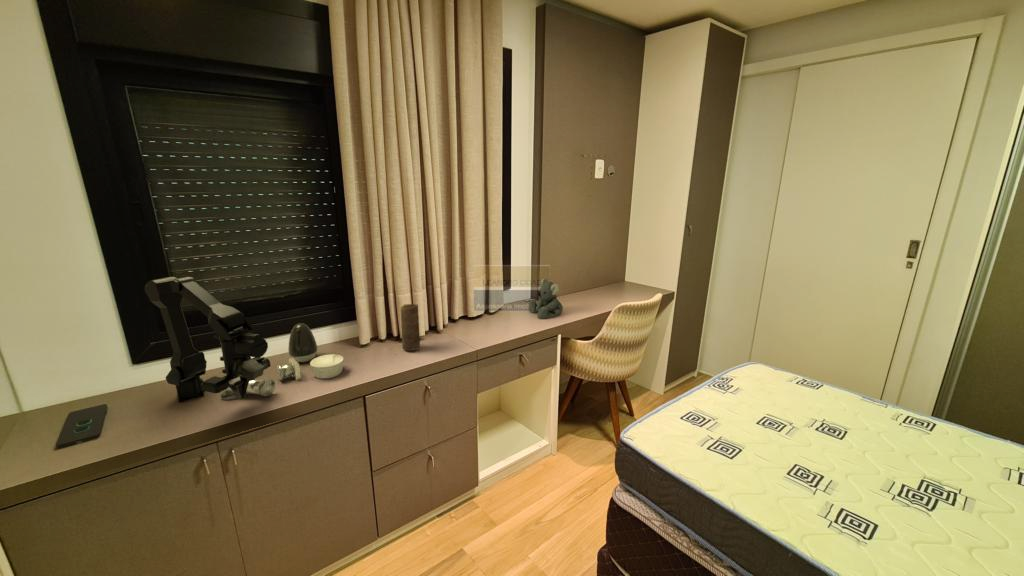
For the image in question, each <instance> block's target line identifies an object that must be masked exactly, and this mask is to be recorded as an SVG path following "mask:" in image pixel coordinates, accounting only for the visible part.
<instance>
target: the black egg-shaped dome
mask: <svg viewBox="0 0 1024 576" xmlns="http://www.w3.org/2000/svg"><path fill="white" fill-rule="evenodd" d="M287 350H288V351H287V352H288V355H289V356H290V358H294V359H295V360H296V361H297V362H298V363H306V362H311V361H312V360H313V359H315V358H316V355H317V352H318V344H317V341H316V338H315V336H314V333H313V332H312V330H311V329H310V327H309V326H308V325H307V324H305V323H297V324H295V325H294V326H293V328H292V329H291V332H290V335H289V339H288V349H287Z"/></svg>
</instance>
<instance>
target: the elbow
mask: <svg viewBox="0 0 1024 576" xmlns="http://www.w3.org/2000/svg"><path fill="white" fill-rule="evenodd" d="M275 389H276V382H275V380H274V379H271V378H265V379H254V380H252V381H249V384H248V387H247V391H246V393H248V394H254V395H255V394H257V395H260V396H263V397H269V396H271V395H272V394H273V393H274V391H275ZM224 391H225V392H226V395H236V394H235V393H234V392H233V391H232V390H231V389H230V388H229V387H228V388H227V389H225V390H224Z"/></svg>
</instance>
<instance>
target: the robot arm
mask: <svg viewBox="0 0 1024 576" xmlns="http://www.w3.org/2000/svg"><path fill="white" fill-rule="evenodd" d="M144 293H145V294H146V295H147V297H148V299H149V301H150V302H151V303H152V304H153V305H154V306H156V307H157V308H159V310H160V314H161V316H162V320H163V323H164V326H165V330H166V332H167V334H168V335H167V336H168V338H169V342H170V344H171V349H172V351H173V353H172V356H171V358H170V361H169V363H170V364H169V365H170V371H169V372H168V373H167V375H166V376H165V380H166V382H167V384H168V385H173V386H174V385H175V389H176V390H175V391H176V393H177V394H176V397H177V401H178V403H183V402H187V401H191V400H194V399H198V398H201V397H204V396H205V392H206V393H211V394H219V393H223V392H224V391H225V389H227V388H228V387H229V388H230V389H231V390H232V391H233V392H234V393H235V394H236V395H237V396H238V397H239V398H238V399H239V400H244V399H245V398H246V396H247V395H246V391H247V387H248V384H249V381H252V380H257V378H259V377H262V376H263V375H264V371H265V370H267V369H268V368H270V367H271V361H270V359H268V357H264V355H265V354H267V351H268V347H269V343H268V342H267V340H266V339H265V338H263V337H261V335H260V334H259V333H253V332H255V329H254V327H253V324H252V323H250V322H249V321H248V319H247V318H246V316H245V315H244V314H243V312H241V311H240V310H239V309H236V308H235V307H233V306H230V305H227V304H223V303H221V302H220V301H219V300H217V298H215V297H214V296H213V295H211V294H210V293H209V291H207V290H206V289H204V288H203V287H202V286H200V285H199V284H198V283H197V281H196V279H195V278H194V277H192V276H183V277H180V278H177V277H175V276H168V277H162V278H158V279H157V278H156V279H152V280H149V281H148V282H147V283H146V284H145V286H144ZM183 299H185V300H187V302H189V303H190V304H191V305H193V306H194V307H195V308H196V309H198V310H199V311H200V312H201V313H202V314H203V315H204V316H206V317H207V324H208V325H209V326H210V327H211V329H212V330H213V331H214V332H215V333H216V334H215V335H214V336H213V338H214V339H218V340H219V343H220V347H221V349H220V350H221V354H222V356H220V357H219V361H220V362H223V365H224V369H221V371H222V374H225V375H224V376H222V377H220V376H215V375H213V376H212V377H209V378H207V379H205V380H203V378H202V377H201V376H204V375H206V372H207V363H208V361H207V359H206V358H205V353H204V352H203V351H199V350H197V349H196V348H195V347H194V344H193V341H192V338H191V335H190V330H189V328H188V325H187V321H186V318H185V315H184V311H183V308H182V302H183ZM251 357H252V358H251Z"/></svg>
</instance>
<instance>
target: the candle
mask: <svg viewBox="0 0 1024 576" xmlns="http://www.w3.org/2000/svg"><path fill="white" fill-rule="evenodd" d="M419 317H420V316H419V305H418V304H417V303H406V304H403V305H402V306H401V307H400V321H401V322H400V323H401V325H400V327H401V343H402V350H405V351H417V350H420V349H421V343H420V342H421V340H420V339H421V338H420V323H419V321H420V320H419Z"/></svg>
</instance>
